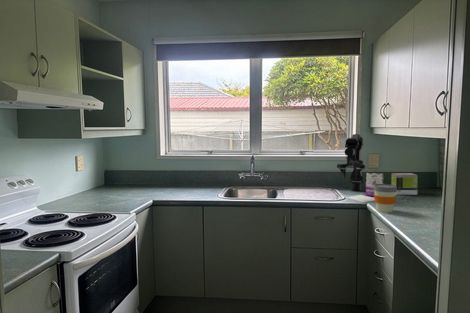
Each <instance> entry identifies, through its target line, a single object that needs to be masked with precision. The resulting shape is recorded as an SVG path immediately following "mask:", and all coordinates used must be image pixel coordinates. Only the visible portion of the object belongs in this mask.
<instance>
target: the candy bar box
mask: <svg viewBox="0 0 470 313" xmlns="http://www.w3.org/2000/svg"><path fill="white" fill-rule="evenodd" d="M375 184H384V173H378V172H376V173H373V172H370V173H369V172H367V173H365V196H368V197H373V198H374V194H375V192H374V185H375Z"/></svg>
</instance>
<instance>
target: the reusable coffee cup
mask: <svg viewBox="0 0 470 313" xmlns="http://www.w3.org/2000/svg"><path fill="white" fill-rule="evenodd" d="M374 192H375V194H374V197H373V198H374V199H375V201H374V202H375V210H376V211H377V212H379V213H386V214H387V213H389V212H390V213H393V212H394V208H395V207H394V206H395V204H396V200H397V195H396V192H397V186H395V185H391V184H387V183H383V184H375V185H374ZM390 213H389V214H390Z"/></svg>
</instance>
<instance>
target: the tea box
mask: <svg viewBox="0 0 470 313" xmlns="http://www.w3.org/2000/svg"><path fill="white" fill-rule="evenodd" d="M390 177H391V178H390V179H391V182H390V183H391V184H390V185H395V186H397V192H396V196H397V195H400V196H401V195H403V196H406V195H408V196H409V195H413V196H414V195H415V196H416V195H418V187H419V186H418V184H419V183H418V179H419V178H418V177H419V176H418V174H415V173H411V172H410V173H409V172H405V173H404V172H402V173H400V172H399V173H397V172H396V173H395V172H394V173H391V176H390Z"/></svg>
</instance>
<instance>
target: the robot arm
mask: <svg viewBox="0 0 470 313" xmlns="http://www.w3.org/2000/svg"><path fill="white" fill-rule="evenodd" d="M344 145H345V146H344V148H345V149H344V154H345V156H346V157H345V159H346V163H337V164H336V168H337V169H338V170H339V171H340V173H341V175H342V177H343V179H344V180H345V179H346V174H347V172H346V171H347V168H353V170H352V172H351V174H350V176H349V177H350V178H349V179H350V184H351V183H352V184H351V189H350V191H352V192H362V191H363V189H362V184H364V177H363V175H362V171H364V170H365V169H366V166H365V164H364V160H361V150H362V149H363V146H364V138H363V137H362V136H361V134H357V133H355V134H352V135H351V137H348V138H346V139H345V144H344Z"/></svg>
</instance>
